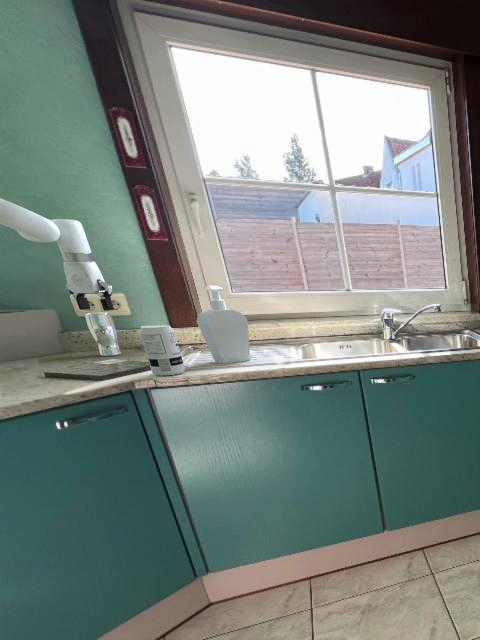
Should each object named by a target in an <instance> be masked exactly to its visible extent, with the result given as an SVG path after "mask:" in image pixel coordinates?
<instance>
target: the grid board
mask: <svg viewBox="0 0 480 640" xmlns="http://www.w3.org/2000/svg"><path fill="white" fill-rule="evenodd" d="M148 370H149V371H152V370H151V367H150V364H149V361H148V360H130V359H116V358H115V359H114V358H111V359H106V360H99V361H95V362H90V363H85V364H79V365H74V366H67V367H64V368H58V369H53V370H47V371H43V374H44V377H45V378H57V379H70V380H71V379H73V380H87V381H88V380H89V381H107V380H108V381H109V380H112V379H116V378H121V377H126V376H131V375H136V374H139V373H143V372H148Z"/></svg>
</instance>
